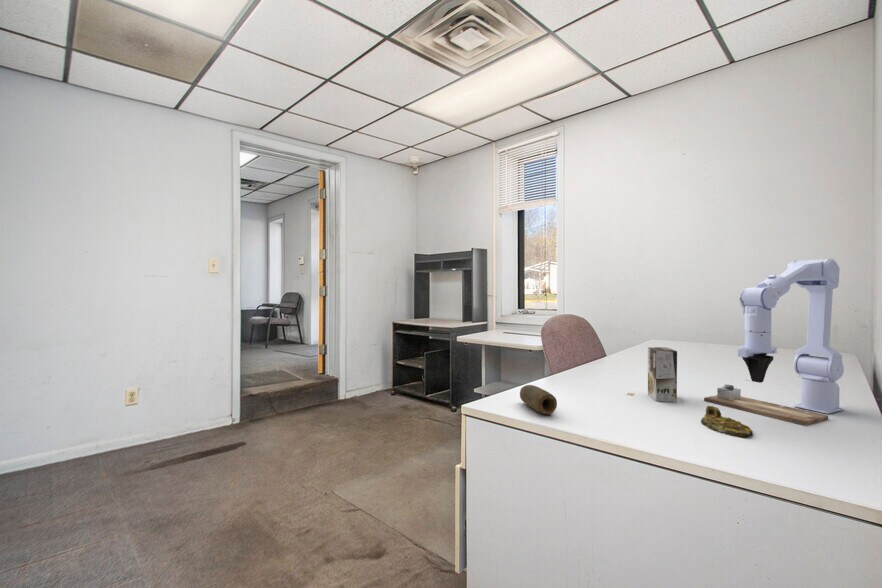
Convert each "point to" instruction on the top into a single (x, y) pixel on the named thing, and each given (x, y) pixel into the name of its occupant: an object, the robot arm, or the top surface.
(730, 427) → the seal
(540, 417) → the top surface
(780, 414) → the counting board
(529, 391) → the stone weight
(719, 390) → the knob
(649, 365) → the coffee box
